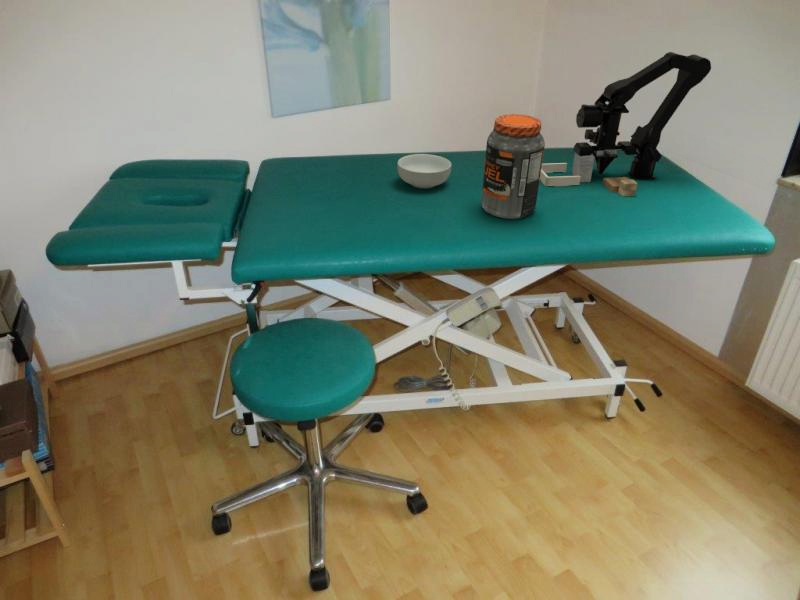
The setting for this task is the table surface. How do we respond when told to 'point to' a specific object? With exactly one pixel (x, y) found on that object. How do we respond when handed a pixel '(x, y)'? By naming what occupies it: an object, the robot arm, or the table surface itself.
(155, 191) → the table surface
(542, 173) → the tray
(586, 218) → the table surface
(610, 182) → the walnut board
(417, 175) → the cereal bowl
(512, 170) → the supplement tub
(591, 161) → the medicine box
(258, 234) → the table surface
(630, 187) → the beech block
